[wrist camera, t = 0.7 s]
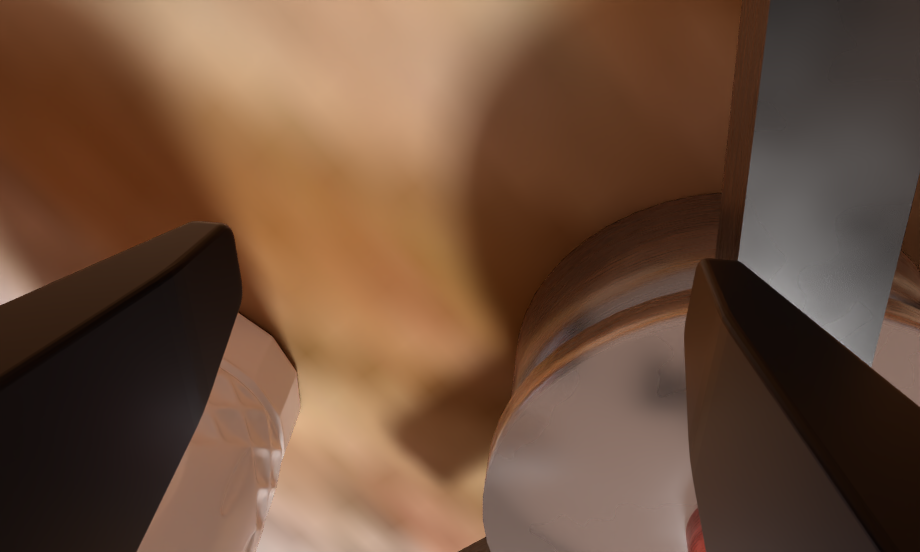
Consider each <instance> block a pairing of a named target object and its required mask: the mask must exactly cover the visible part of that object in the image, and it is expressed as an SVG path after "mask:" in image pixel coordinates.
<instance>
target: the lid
mask: <svg viewBox="0 0 920 552" xmlns="http://www.w3.org/2000/svg"><path fill="white" fill-rule="evenodd" d="M919 174H920V0H742V7H741V17H740V26H739V36H738V45H737V54H736V64H735V73H734V83H733V92H732V102H731V111H730V120H729V130H728V139H727V149H726V158H725V168H724V177H723V186H722V196H721V205H720V215H719V224H718V234H717V243H716V252H715V259H727V260H737V261H740V262H741V263H743V264H744V265H745V266H747V267H748V268H749V269H750V270H751V271H753V272H754V273H755V274H756V275H758V276H759V277H760V278H761V279H763V280H764V281H765V282H766V283H768V284H769V285H770V286H771V287H772V288H774V289H775V290H776V291H777V292H779V293H780V294H781V295H782V296H784V297H785V298H786V299H787V300H789V301H790V302H791V303H792V304H793V305H795V306H796V307H797V308H798V309H800V310H801V311H802V312H803V313H805V314H806V315H807V316H808V317H810V318H811V319H812V320H813V321H814V322H816V323H817V324H818V325H819V326H821V327H822V328H823V329H824V330H826V331H827V332H828V333H829V334H831V335H832V336H833V337H834V338H835V339H837V340H838V341H839V342H840V343H842V344H843V345H844V346H845V347H847V348H848V349H849V350H850V351H851V352H853V353H854V354H855V355H856V356H858V357H859V358H860V359H861V360H863V361H864V362H865V363H866V364H868V365H869V366H870V367H871V368H872V369H874V370H875V371H876V372H877V373H879V374H880V375H881V376H882V377H884V378H885V379H886V380H887V381H889V382H890V383H891V384H892V385H893V386H895V387H896V388H897V389H898V390H900V391H901V392H902V393H903V394H905V395H906V396H907V397H908V398H910V399H911V400H912V401H913V402H914V403H916V404H917V405H918V406H919V407H920V310H919V309H917V308H915V307H912V306H910V305H908V304H905V303H903V302H901V301H898V300H895V299H892V298H889V295H890V290H891V286H892V282H893V278H894V274H895V270H896V266H897V262H898V258H899V254H900V250H901V246H902V242H903V238H904V234H905V230H906V226H907V222H908V218H909V214H910V210H911V206H912V202H913V198H914V194H915V190H916V186H917V182H918V178H919ZM691 290H692V289H688V290H684V291H680V292H677V293H673V294H669V295H665V296H661V297H657V298H654V299H651V300H648V301H646V302H643V303H640V304H638V305H635V306H632V307H630V308H627V309H625V310H622V311H619V312H617V313H615V314H613V315H611V316H609V317H607V318H605V319H603V320H601V321H600V322H598V323H596V324H594V325H592V326H590V327H588V328H586V329H584V330H583V331H581V332H580V333H579V334H577V335H576V336H574V337H573V338H571V339H570V340H568V341H567V342H565V343H564V344H562V345H561V346H559V347H558V348H557V349H556V350H554V351H553V352H552V353H551V354H550V355H549V356H548V357H547V358H545V359H544V360H543V361H542V362H541V363H540V364H539V365H538V366H536V367H535V368H534V369H533V371H532V372H531V373H530V374H529V375H528V377H527V378H526V379H525V380H524V381H523V382H522V384H521V385H520V386H519V387H518V388H517V390H516V391H515V392H514V394H513V396H512V397H511V399H510V401H509V402H508V404H507V406H506V407H505V409H504V411H503V412H502V414H501V417H500V419H499V422H498V424H497V427H496V429H495V432H494V435H493V437H492V442H491V447H490V452H489V457H488V463H487V471H486V478H485V486H484V493H483V523H484V528H485V534H486V539H487V543H488V546H489V548H490V551H491V552H706V549H705V544H704V538H703V533H702V527H701V522H700V516H699V511H698V505H697V500H696V495H695V489H694V484H693V478H692V471H691V464H690V455H689V441H688V421H687V398H686V376H685V354H684V329H685V321H686V316H687V311H688V306H689V301H690V295H691Z"/></svg>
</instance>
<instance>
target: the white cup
mask: <svg viewBox="0 0 920 552" xmlns="http://www.w3.org/2000/svg"><path fill="white" fill-rule="evenodd" d="M300 409H301V405H300V396H299V387H298V378H297V372H296V370H295V369H294V367H293V366H292V364H291V363H290V361H289V360H288V358H287V357H286V355H285V354H284V352H283V351H282V349H281V348H280V347H279V345H278V344H277V342H276V341H275V339H274V338H273V337H272V336H271V335H270V334H268V333H267V332H265V331H264V330H263V329H261V328H260V327H258V326H257V325H255V324H254V323H252V322H251V321H250V320H248V319H247V318H245V317H244V316H242V315H241V314H239V313H238V314H237V317H236V320H235V323H234V326H233V329H232V332H231V335H230V338H229V341H228V344H227V347H226V350H225V353H224V356H223V358H222V361H221V364H220V367H219V370H218V373H217V376H216V379H215V382H214V385H213V388H212V391H211V394H210V397H209V399H208V402H207V405H206V407H205V410H204V413H203V415H202V417H201V419H200V422H199V424H198V426H197V428H196V430H195V433H194V435H193V437H192V439H191V441H190V443H189V445H188V447H187V449H186V451H185V453H184V455H183V457H182V459H181V462H180V464H179V466H178V468H177V470H176V472H175V474H174V476H173V478H172V480H171V482H170V484H169V486H168V488H167V491H166V493H165V495H164V497H163V499H162V501H161V503H160V505H159V507H158V509H157V511H156V513H155V515H154V517H153V519H152V522H151V524H150V526H149V528H148V530H147V532H146V534H145V536H144V538H143V540H142V542H141V544H140V546H139V548H138V551H137V552H256V549H257V547H258V544H259V541H260V538H261V535H262V532H263V528H264V523H265V520H266V517H267V514H268V512H269V509H270V506H271V503H272V500H273V497H274V494H275V490H276V487H277V482H278V477H279V471H280V466H281V462H282V459H283V457H284V454H285V451H286V448H287V446H288V443H289V440H290V437H291V435H292V432H293V429H294V426H295V424H296V421H297V418H298V415H299V412H300Z"/></svg>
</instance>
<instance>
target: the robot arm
mask: <svg viewBox="0 0 920 552" xmlns="http://www.w3.org/2000/svg"><path fill="white" fill-rule="evenodd" d="M241 300H242V280H241V275H240V269H239V263H238V257H237V251H236V245H235V239H234V235H233V232H232V230H231V228H230V227H229V226H228V225H227V224H224V223H217V222H203V221H192V222H189V223H187V224H185V225H183V226H180V227H178V228H176V229H173V230H171V231H169V232H167V233H164V234H162V235H160V236H157V237H155V238H153V239H151V240H148V241H146V242H144V243H142V244H139V245H137V246H135V247H132V248H130V249H128V250H126V251H123V252H121V253H119V254H116V255H114V256H112V257H110V258H107V259H105V260H103V261H101V262H98V263H96V264H94V265H91V266H89V267H87V268H85V269H82V270H80V271H78V272H75V273H73V274H71V275H69V276H66V277H64V278H62V279H59V280H57V281H55V282H53V283H50V284H48V285H46V286H44V287H41V288H39V289H37V290H34V291H32V292H30V293H28V294H25V295H23V296H21V297H18V298H16V299H14V300H12V301H9V302H7V303H5V304H2V305H0V552H137V551H138V548H139V546H140V544H141V542H142V540H143V538H144V536H145V534H146V532H147V530H148V528H149V526H150V524H151V522H152V519H153V517H154V515H155V513H156V511H157V509H158V507H159V505H160V503H161V501H162V499H163V497H164V495H165V493H166V491H167V488H168V486H169V484H170V482H171V480H172V478H173V476H174V474H175V472H176V470H177V468H178V466H179V464H180V462H181V459H182V457H183V455H184V453H185V451H186V449H187V447H188V445H189V443H190V441H191V439H192V437H193V435H194V433H195V430H196V428H197V426H198V424H199V422H200V419H201V417H202V415H203V413H204V410H205V407H206V405H207V402H208V399H209V397H210V394H211V391H212V388H213V385H214V382H215V379H216V376H217V373H218V370H219V367H220V364H221V361H222V358H223V356H224V353H225V350H226V347H227V344H228V341H229V338H230V335H231V332H232V329H233V326H234V323H235V320H236V317H237V314H238V311H239V308H240V305H241ZM684 354H685V376H686V398H687V421H688V441H689V455H690V464H691V471H692V478H693V484H694V489H695V495H696V500H697V505H698V511H699V516H700V522H701V527H702V533H703V538H704V544H705V549H706V552H920V407H919V406H918V405H917V404H916V403H914V402H913V401H912V400H911V399H910V398H908V397H907V396H906V395H905V394H903V393H902V392H901V391H900V390H898V389H897V388H896V387H895V386H893V385H892V384H891V383H890V382H889V381H887V380H886V379H885V378H884V377H882V376H881V375H880V374H879V373H877V372H876V371H875V370H874V369H872V368H871V367H870V366H869V365H868V364H866V363H865V362H864V361H863V360H861V359H860V358H859V357H858V356H856V355H855V354H854V353H853V352H851V351H850V350H849V349H848V348H847V347H845V346H844V345H843V344H842V343H840V342H839V341H838V340H837V339H835V338H834V337H833V336H832V335H831V334H829V333H828V332H827V331H826V330H824V329H823V328H822V327H821V326H819V325H818V324H817V323H816V322H814V321H813V320H812V319H811V318H810V317H808V316H807V315H806V314H805V313H803V312H802V311H801V310H800V309H798V308H797V307H796V306H795V305H793V304H792V303H791V302H790V301H789V300H787V299H786V298H785V297H784V296H782V295H781V294H780V293H779V292H777V291H776V290H775V289H774V288H772V287H771V286H770V285H769V284H768V283H766V282H765V281H764V280H763V279H761V278H760V277H759V276H758V275H756V274H755V273H754V272H753V271H751V270H750V269H749V268H748V267H747V266H745V265H744V264H743V263H741V262H740V261H737V260H727V259H713V258H704V259H702V260H700V262H699V263H698V264H697V267H696V271H695V275H694V280H693V285H692V290H691V295H690V301H689V306H688V311H687V316H686V321H685V329H684Z"/></svg>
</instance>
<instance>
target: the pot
mask: <svg viewBox="0 0 920 552" xmlns="http://www.w3.org/2000/svg"><path fill="white" fill-rule="evenodd" d="M721 196H722V193H716V194H706V195H697V196H693V197H688V198H683V199H679V200H674V201H669V202H666V203H663V204H660V205H657V206H654V207H651V208H648V209H645V210H642V211H639V212H637V213H634V214H632V215H630V216H628V217H626V218H624V219H622V220H619V221H617V222H615V223H613V224H611V225H609V226H608V227H606V228H605V229H603V230H601V231H600V232H598V233H597V234H595V235H593V236H592V237H590V238H589V239H587V240H586V241H585V242H583V243H582V244H581V245H580V246H578V247H577V248H576V249H575V250H574V251H572V252H571V253H570V254H569V255H567V256H566V257H565V258H564V259H563V260H562V262H561V263H560V264H559V265H558V266H557V267H556V268H555V269H554V270H553V271H552V272H551V273H550V274H549V276H548V277H547V278H546V280H545V281H544V283H543V284H542V285H541V287H540V288H539V290H538V291H537V293H536V294H535V296H534V298H533V300H532V302H531V304H530V306H529V308H528V310H527V312H526V314H525V317H524V320H523V323H522V326H521V329H520V333H519V337H518V344H517V351H516V359H515V368H514V377H513V385H512V394H511V397H512V396H513V394H514V392H515V391H516V390H517V388H518V387H519V386H520V385H521V384H522V382H523V381H524V380H525V379H526V378H527V377H528V375H529V374H530V373H531V372H532V371H533V369H534V368H535V367H536V366H538V365H539V364H540V363H541V362H542V361H543V360H544V359H545V358H547V357H548V356H549V355H550V354H551V353H552V352H553V351H554V350H556V349H557V348H558V347H559V346H561V345H562V344H564V343H565V342H567V341H568V340H570V339H571V338H573V337H574V336H576V335H577V334H579V333H580V332H581V331H583V330H584V329H586V328H588V327H590V326H592V325H594V324H596V323H598V322H600V321H601V320H603V319H605V318H607V317H609V316H611V315H613V314H615V313H617V312H619V311H622V310H625V309H627V308H630V307H632V306H635V305H638V304H640V303H643V302H646V301H648V300H651V299H654V298H657V297H661V296H665V295H669V294H673V293H677V292H680V291H684V290H688V289H692V285H693V280H694V275H695V271H696V267H697V264H698V263H699V262H700V260H702V259H704V258H713V259H715V252H716V243H717V234H718V224H719V215H720V205H721ZM889 298H892V299H895V300H898V301H901V302H903V303H905V304H908V305H910V306H912V307H915V308H917V309H919V310H920V272H919V271H918V269H917V268H916V266H915V265H914V263H913V262H912V261H911V260H910V259H909V258H908V257H907V256H906V255H905V254H904V253H903V252H902V250H900V254H899V258H898V262H897V266H896V270H895V274H894V278H893V282H892V286H891V290H890V295H889ZM459 552H491V551H490V548H489V546H488V543H487V539H486V537H485V538H483V539H481V540H479V541H477V542H475V543H473V544H472V545H470V546H468V547H466V548H464V549H462V550H460V551H459Z"/></svg>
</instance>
